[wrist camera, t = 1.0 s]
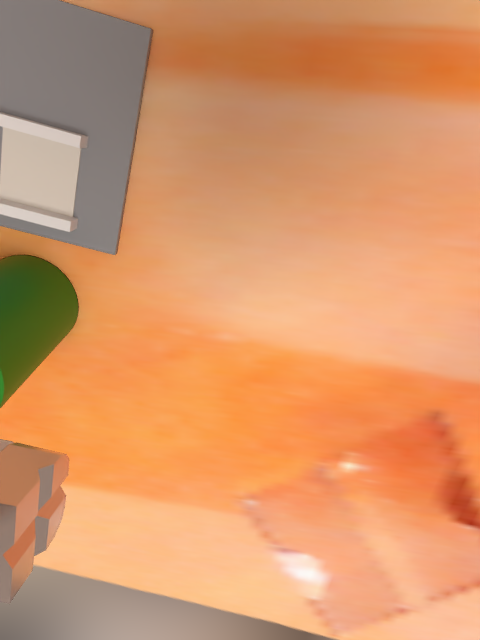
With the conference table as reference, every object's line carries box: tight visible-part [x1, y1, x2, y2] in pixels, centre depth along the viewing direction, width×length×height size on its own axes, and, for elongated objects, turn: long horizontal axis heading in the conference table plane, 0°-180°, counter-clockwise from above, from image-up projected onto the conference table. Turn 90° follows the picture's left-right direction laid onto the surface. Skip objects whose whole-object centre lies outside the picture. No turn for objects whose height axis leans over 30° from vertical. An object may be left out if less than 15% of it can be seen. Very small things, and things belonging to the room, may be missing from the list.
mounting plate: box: [0, 0, 153, 255], centre depth 38 cm, size 20×16×3 cm
